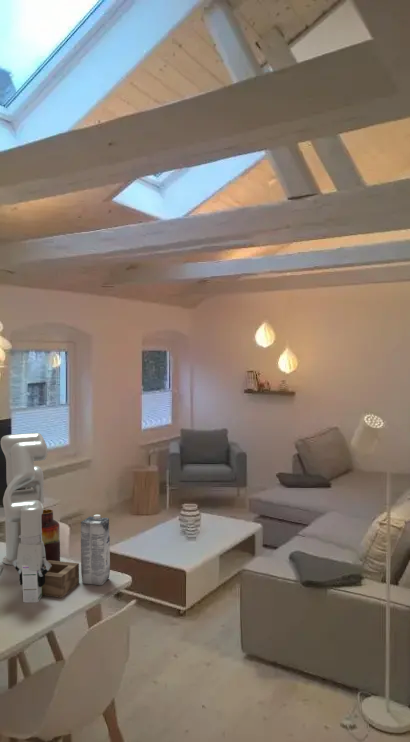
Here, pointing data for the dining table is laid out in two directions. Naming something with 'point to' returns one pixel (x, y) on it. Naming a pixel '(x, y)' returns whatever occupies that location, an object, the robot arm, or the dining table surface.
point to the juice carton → (95, 550)
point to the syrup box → (30, 585)
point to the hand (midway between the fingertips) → (32, 584)
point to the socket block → (60, 578)
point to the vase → (50, 535)
